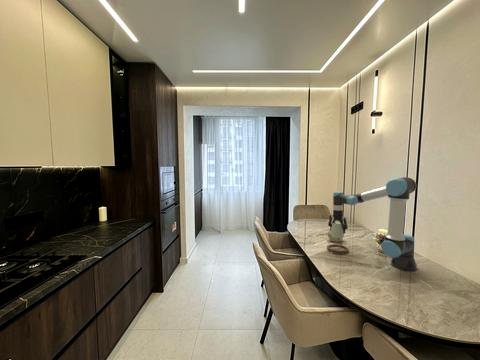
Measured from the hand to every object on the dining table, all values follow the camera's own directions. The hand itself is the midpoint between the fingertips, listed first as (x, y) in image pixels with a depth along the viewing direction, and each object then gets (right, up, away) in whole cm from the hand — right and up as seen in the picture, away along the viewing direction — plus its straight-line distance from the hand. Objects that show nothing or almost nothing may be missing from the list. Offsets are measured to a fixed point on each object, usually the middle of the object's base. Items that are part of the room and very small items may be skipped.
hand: (337, 235), depth 192 cm
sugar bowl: (+9, -12, +26) cm, 30 cm away
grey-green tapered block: (0, -1, 0) cm, 1 cm away
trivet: (0, -13, +1) cm, 13 cm away
